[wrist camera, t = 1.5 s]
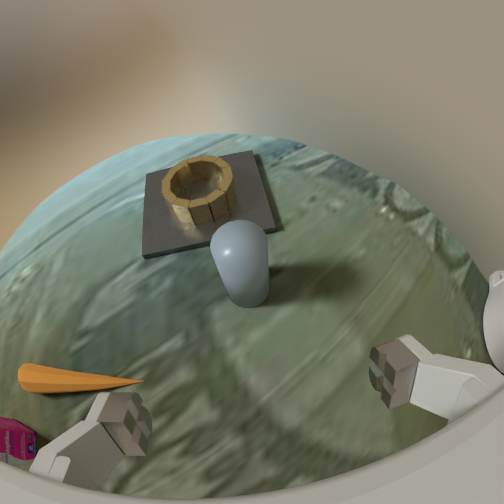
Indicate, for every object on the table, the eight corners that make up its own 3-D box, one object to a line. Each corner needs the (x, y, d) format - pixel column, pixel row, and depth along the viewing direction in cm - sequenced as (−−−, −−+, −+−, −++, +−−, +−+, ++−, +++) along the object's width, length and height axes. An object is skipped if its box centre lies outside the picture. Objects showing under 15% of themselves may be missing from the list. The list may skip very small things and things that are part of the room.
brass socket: (229, 166, 43) (227, 149, 40) (240, 214, 38) (237, 197, 35) (169, 180, 42) (162, 164, 39) (169, 230, 37) (161, 214, 34)
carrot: (35, 388, 28) (18, 396, 24) (28, 359, 29) (10, 364, 24) (153, 392, 30) (144, 405, 26) (146, 358, 31) (135, 367, 26)
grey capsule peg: (264, 265, 35) (260, 215, 26) (273, 302, 32) (273, 261, 24) (224, 273, 35) (207, 226, 26) (230, 311, 32) (213, 273, 23)
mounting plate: (252, 154, 45) (252, 150, 44) (275, 231, 37) (275, 227, 36) (148, 178, 45) (146, 174, 44) (144, 259, 36) (142, 255, 36)
